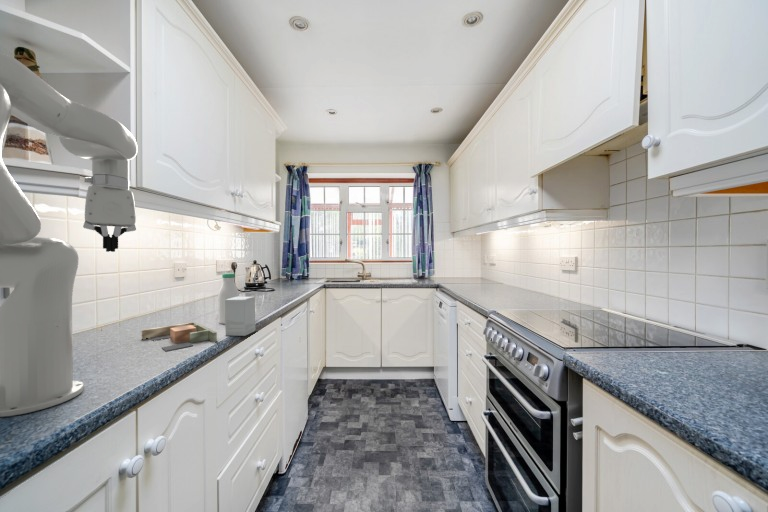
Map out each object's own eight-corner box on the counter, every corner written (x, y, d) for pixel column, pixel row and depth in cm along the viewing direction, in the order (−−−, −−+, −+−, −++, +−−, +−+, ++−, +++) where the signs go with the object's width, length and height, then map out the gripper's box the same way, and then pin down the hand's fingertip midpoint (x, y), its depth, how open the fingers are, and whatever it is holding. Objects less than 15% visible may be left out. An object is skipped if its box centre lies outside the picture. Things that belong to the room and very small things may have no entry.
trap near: (165, 351, 87) (165, 350, 87) (161, 348, 90) (161, 347, 90) (193, 346, 92) (193, 345, 92) (188, 343, 95) (188, 342, 95)
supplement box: (256, 330, 110) (256, 296, 110) (244, 336, 103) (244, 299, 103) (237, 330, 111) (236, 296, 111) (224, 335, 103) (224, 299, 103)
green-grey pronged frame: (157, 353, 85) (157, 343, 85) (141, 339, 99) (141, 330, 99) (216, 341, 97) (216, 332, 97) (194, 330, 111) (194, 321, 111)
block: (174, 344, 95) (174, 331, 95) (170, 340, 99) (170, 328, 99) (196, 339, 99) (196, 327, 99) (191, 336, 103) (191, 324, 103)
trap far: (153, 341, 97) (153, 340, 97) (149, 338, 100) (149, 337, 100) (178, 336, 102) (178, 335, 102) (174, 334, 105) (174, 333, 105)
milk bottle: (240, 322, 122) (239, 273, 122) (218, 325, 118) (218, 274, 118) (238, 319, 129) (238, 272, 129) (217, 321, 125) (217, 273, 125)
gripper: (72, 176, 75) (71, 250, 74) (147, 187, 86) (147, 251, 85) (71, 182, 80) (70, 251, 79) (142, 191, 91) (142, 252, 90)
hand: (110, 251), depth 82 cm, fingers closed
